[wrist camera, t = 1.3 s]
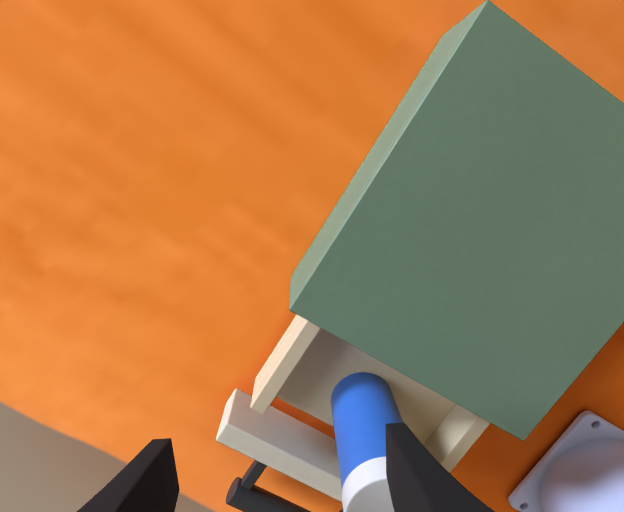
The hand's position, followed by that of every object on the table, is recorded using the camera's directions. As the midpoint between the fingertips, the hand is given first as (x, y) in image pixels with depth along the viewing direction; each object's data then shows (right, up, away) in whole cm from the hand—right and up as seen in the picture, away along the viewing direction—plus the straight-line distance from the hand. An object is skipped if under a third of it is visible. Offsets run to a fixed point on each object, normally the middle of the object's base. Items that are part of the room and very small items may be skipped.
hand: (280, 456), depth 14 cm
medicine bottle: (+4, -1, +9) cm, 10 cm away
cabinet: (+9, +8, +9) cm, 15 cm away
